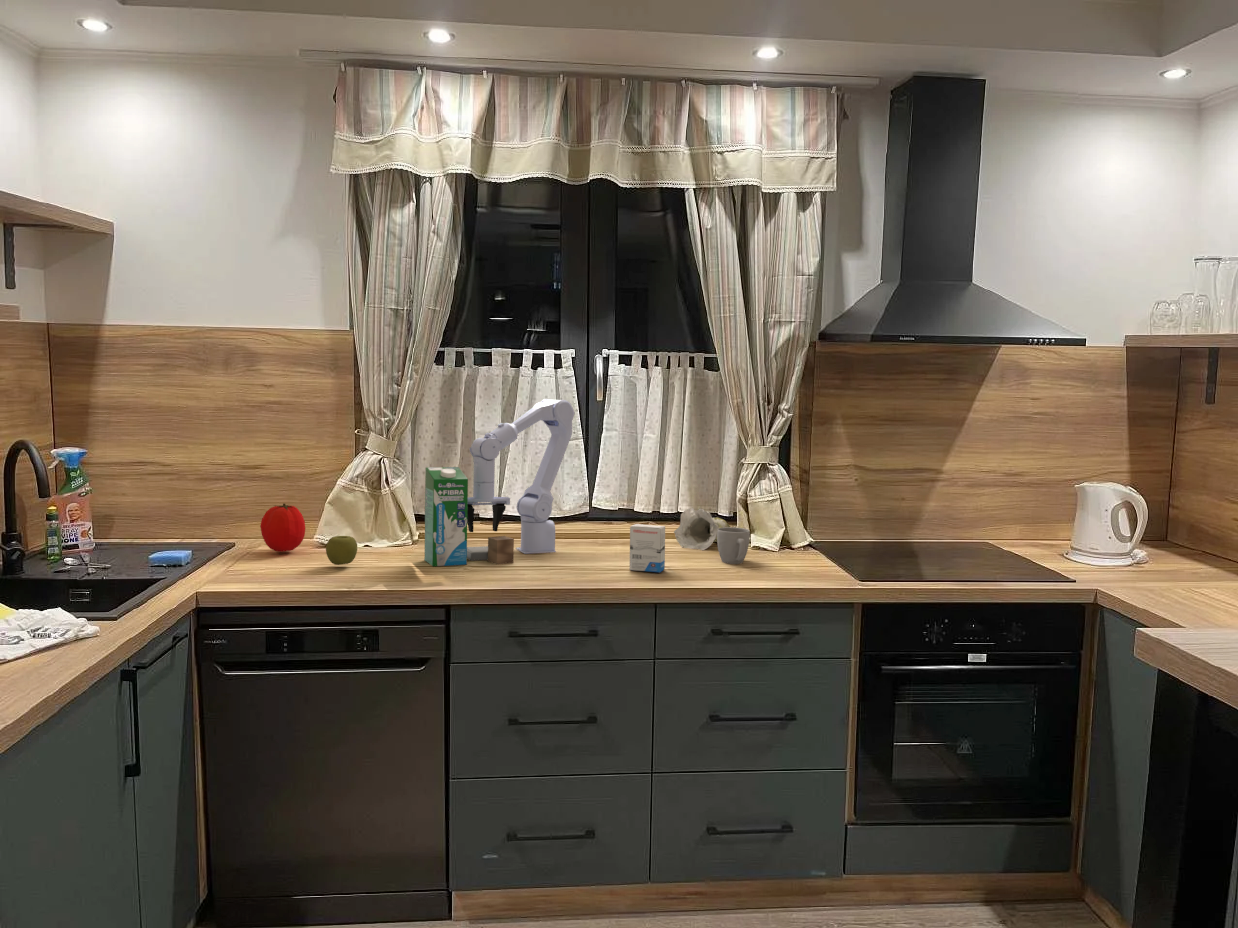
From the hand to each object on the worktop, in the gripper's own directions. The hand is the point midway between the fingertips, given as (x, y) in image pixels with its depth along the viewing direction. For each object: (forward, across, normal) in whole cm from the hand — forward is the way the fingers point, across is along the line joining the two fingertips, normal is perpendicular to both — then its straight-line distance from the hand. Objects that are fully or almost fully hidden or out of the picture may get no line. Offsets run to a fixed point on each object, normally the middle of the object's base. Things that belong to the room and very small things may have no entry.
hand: (483, 531), depth 254 cm
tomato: (+7, +50, -22) cm, 55 cm away
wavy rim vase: (+9, -63, +10) cm, 64 cm away
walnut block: (+7, -3, +8) cm, 11 cm away
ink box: (+7, -36, +29) cm, 47 cm away
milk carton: (+7, +12, +5) cm, 15 cm away
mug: (+7, -62, +31) cm, 69 cm away
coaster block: (+8, 0, 0) cm, 8 cm away
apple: (+7, +37, 0) cm, 38 cm away
